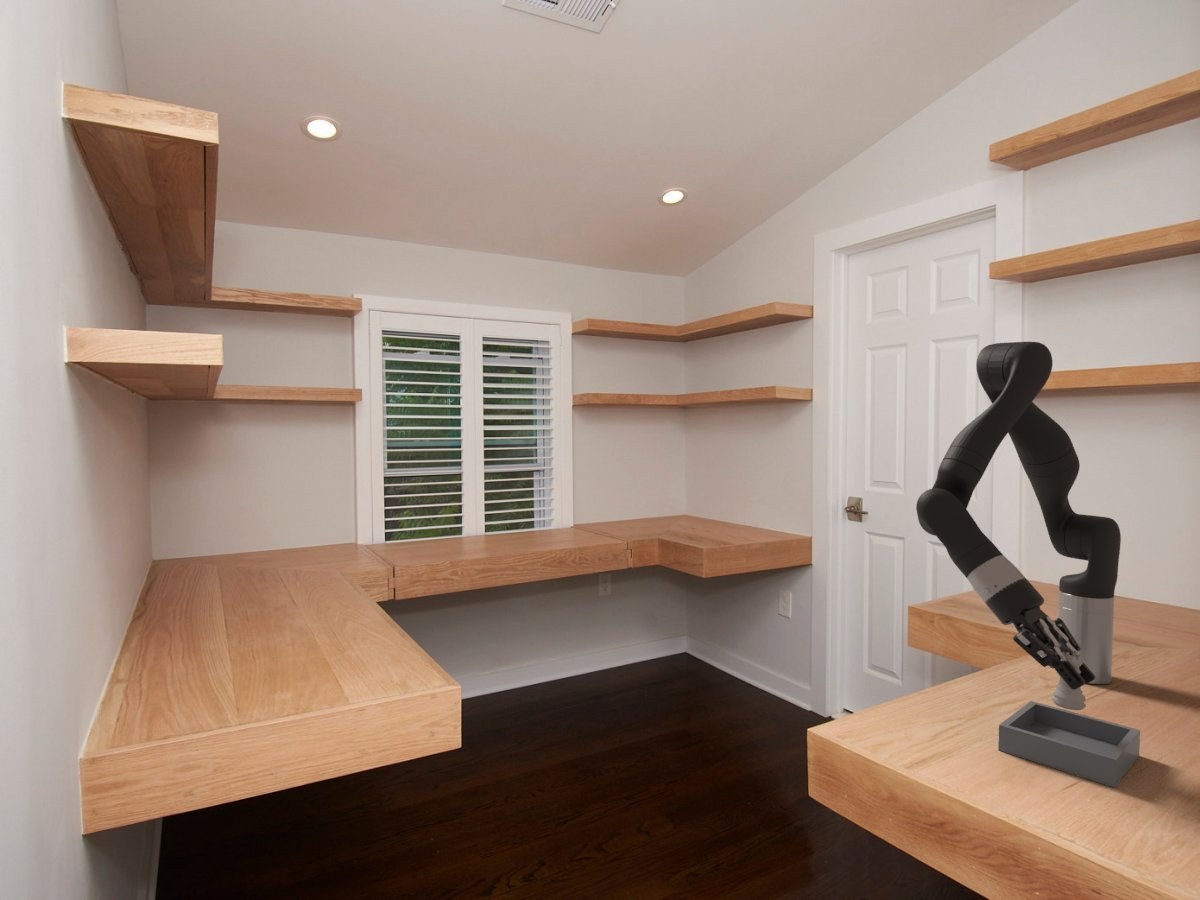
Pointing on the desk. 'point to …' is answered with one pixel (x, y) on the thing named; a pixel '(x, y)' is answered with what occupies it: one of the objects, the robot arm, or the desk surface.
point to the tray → (1070, 742)
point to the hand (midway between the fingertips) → (1084, 683)
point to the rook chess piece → (1064, 693)
